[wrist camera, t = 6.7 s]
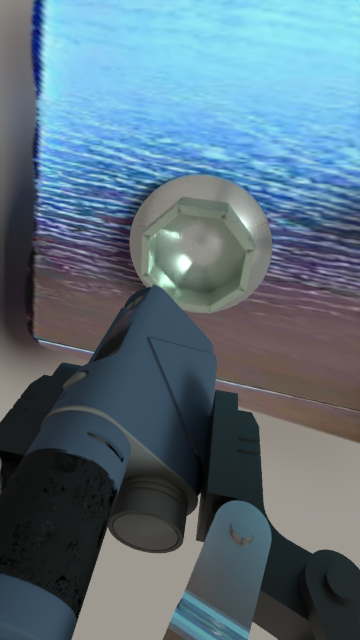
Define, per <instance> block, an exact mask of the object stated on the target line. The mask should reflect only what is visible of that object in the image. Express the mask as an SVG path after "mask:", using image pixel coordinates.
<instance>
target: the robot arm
mask: <svg viewBox="0 0 360 640" xmlns="http://www.w3.org/2000/svg"><path fill="white" fill-rule="evenodd" d="M81 367H82V366H80V365H74V364H68V363H61V364H60V365H59V367H58V368H57V369H56V371H55V372H54V374H53V375H52V376H48V375H43V376H42V377H40V378H39V379H37V380H36V381H34V382H33V383H31V384H30V385H29V386H28V388H27V389H26V390H25V391H24V393H23V394H22V395H21V398H20V399H18V401H17V402H16V403H15V404H14V406H13V408H12V409H10V411H9V412H8V413H7V414H6V416H5V417H4V419H3V420H2V421H1V422H0V494H1V492H2V491H3V489H4V487H5V486H6V484H7V483H8V481H9V479H10V478H11V476H12V475H13V473H14V472H15V470H16V468H17V467H18V465H19V464H20V462H21V461H22V459H23V457H24V456H25V454H26V453H27V451H28V449H29V448H30V446H31V445H32V443H33V442H34V440H35V438H36V437H37V435H38V434H39V432H40V429H41V424H42V422H43V420H44V418H45V417H46V416H47V415H48V414H49V412H50V411H51V409H52V408H53V406H54V405H55V403H56V402H57V400H58V398H59V397H60V395H61V394H62V392H63V391H64V389H63V385H64V384H65V382H66V381H67V380H68V379H70V378H71V377H72V376H73V375H74V374H75V372H76V371H77V370H78V369H79V368H81ZM259 442H260V438H259V426H258V424H257V422H256V420H255V418H254V416H253V414H252V413H251V412H245V411H240V410H238V394H237V393H231V392H225V391H220V390H216V391H215V395H214V400H213V405H212V410H211V415H210V423H209V433H208V443H207V453H206V463H205V472H204V471H203V478H202V487H201V488H202V490H201V498H200V507H199V516H198V525H197V535H196V540H197V541H201V542H204V545H203V547H202V549H201V552H200V554H199V557H198V559H197V562H196V564H195V567H194V569H193V572H192V574H191V577H190V579H189V582H188V584H187V587H186V589H185V591H184V594H183V596H182V598H181V601H180V602H179V604H178V605H177V607H176V610H175V612H174V614H173V616H172V618H171V621H170V623H169V626H168V628H167V630H166V633H165V635H164V638H163V640H248V637H249V633H250V629H251V624H252V621H253V622H254V623H256V624H257V625H258V626H260V627H261V628H263V629H264V630H266V631H267V632H269V633H270V634H272V635H273V636H274V637H276V638H277V639H278V640H360V570H359V568H358V567H357V566H356V565H355V564H354V563H353V562H352V561H351V560H349V559H348V558H347V557H345V556H344V555H342V554H340V553H338V552H335V551H332V550H319V551H317V552H315V553H313V554H312V553H310V552H308V551H307V550H305V549H303V548H301V547H300V546H298V545H296V544H294V543H293V542H291V541H289V540H287V539H286V538H284V537H283V536H282V535H281V534H279V532H278V531H277V530H276V529H275V528H274V527H273V526H272V524H271V523H270V521H269V519H268V518H267V515H266V513H265V509H264V503H263V488H262V471H261V456H260V444H259Z"/></svg>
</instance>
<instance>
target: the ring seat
mask: <svg viewBox="0 0 360 640" xmlns="http://www.w3.org/2000/svg"><path fill="white" fill-rule="evenodd" d="M129 243H130V254H131V259H132V262H133V265H134V268H135V270H136V272H137V274H138V276H139V278H140V279H141V281H142V282H143V284H144V285H145V286H146V287H152V285H153V284H154V285H157V286H159V287H161V288H162V289H164V290H165V291H166V292H167V293H168V295H169V296H170V297H171V298H172V299H173V300H174V301H175V302H176V303H177V305H178V306H179V307H180V308H181V309H182V310H184V311H189V312H196V313H212V312H217V311H221V310H225V309H228V308H230V307H233V306H235V305H237V304H238V303H240V302H242V301H243V300H245V299H246V298H247V297H248V296H250V295H251V294H252V293H253V292H254V291H255V290H256V288H257V287H258V286H259V285H260V283H261V282H262V280H263V279H264V277H265V275H266V273H267V271H268V268H269V264H270V261H271V255H272V237H271V231H270V227H269V223H268V220H267V217H266V215H265V212H264V211H263V209H262V207H261V205H260V204H259V202H258V201H257V200H256V199H255V197H254V196H253V195H252V194H251V193H250V192H249V191H248V190H247V189H245V188H244V187H242V186H241V185H240V184H238V183H236V182H234V181H233V180H231V179H228V178H226V177H223V176H220V175H215V174H210V173H193V174H186V175H182V176H179V177H176V178H174V179H171V180H169V181H167V182H166V183H164V184H162V185H161V186H160V187H158V188H157V189H156V190H154V191H153V192H152V193H151V195H150V196H149V197H148V198H147V199H146V200H145V201H144V202H143V204H142V205H141V206H140V208H139V210H138V211H137V213H136V215H135V218H134V220H133V223H132V227H131V231H130V241H129Z"/></svg>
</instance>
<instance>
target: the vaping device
mask: <svg viewBox="0 0 360 640" xmlns="http://www.w3.org/2000/svg"><path fill="white" fill-rule="evenodd" d="M216 369H217V361H216V356H215V355H213V345H212V343H211V341H210V340H209V339H208V338H207V337H206V336H205V334H204V333H203V332H202V331H201V330H200V329H199V328H198V327H197V326H196V324H195V323H194V322H193V321H192V320H191V319H190V318H189V317H188V316H187V314H186V313H185V312H184V311H183V310H182V309H181V308H180V307H179V306H178V305H177V303H176V302H175V301H174V300H173V299H172V298H171V297H170V296H169V295H168V293H167V292H166V291H165V290H164V289H162V288H161V287H159V286H157V285H154V284H153V285H152V287H146V288H143V289H141V290H139V291H137V292H135V293H134V294H133V295H132V296H131V297H130V298H129V299H128V301H127V302H126V304H125V306H124V308H122V309H121V310H120V312H119V313H118V315H117V317H116V318H115V320H114V322H113V323H112V325H111V326H110V328H109V330H108V331H107V333H106V335H105V336H104V338H103V340H102V341H101V343H100V344H99V346H98V348H97V349H96V351H95V353H94V354H93V356H92V357H91V359H90V361H89V362H88V364H86V365H84V366H82V367H81V368H79V369H78V370H77V371H76V372H75V374H74V375H73V376H72V377H71V378H70V379H68V380H67V381H66V382H65V384H64V385H63V389H64V391H63V392H62V394H61V395H60V397H59V398H58V400H57V402H56V403H55V405H54V406H53V408H52V409H51V411H50V412H49V414H48V415H47V416H46V417H45V418H44V420H43V422H42V424H41V429H40V432H39V434H38V435H37V437H36V438H35V440H34V442H33V443H32V445H31V446H30V448H29V449H28V451H27V453H26V454H25V456H24V457H23V459H22V461H21V462H20V464H19V465H18V467H17V468H16V470H15V472H14V473H13V475H12V476H11V478H10V479H9V481H8V483H7V484H6V486H5V487H4V489H3V491H2V492H1V494H0V640H71V639H72V636H73V632H74V630H75V626H76V623H77V620H78V619H77V618H78V617H79V616H78V615H79V612H80V611H81V608H82V604H83V601H84V598H85V595H86V592H87V589H88V586H89V583H90V580H91V577H92V573H93V570H94V567H95V564H96V561H97V558H98V555H99V552H100V549H101V546H102V542H103V539H104V536H105V533H106V530H107V527H108V528H109V531H110V532H111V534H112V535H113V536H114V537H115V538H116V539H117V540H118V541H120V542H121V543H123V544H125V545H127V546H129V547H131V548H133V549H136V550H140V551H144V552H149V553H167V552H171V551H174V550H176V549H178V548H179V547H180V546H181V545H182V543H183V538H184V531H185V523H186V516H187V515H189V514H191V513H192V511H194V510H195V508H196V506H197V503H198V495H199V494H200V493H201V490H202V488H201V487H202V478H203V471H204V472H205V463H206V453H207V443H208V433H209V423H210V415H211V410H212V405H213V400H214V391H215V380H216Z"/></svg>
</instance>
